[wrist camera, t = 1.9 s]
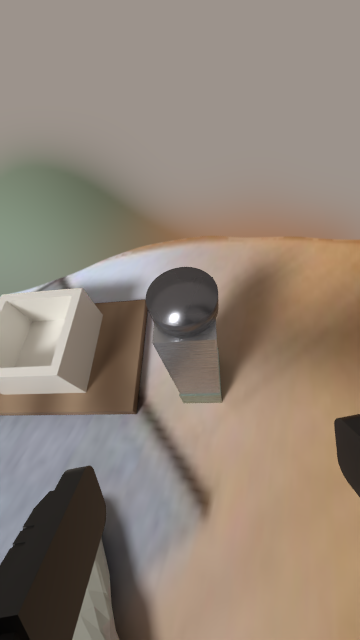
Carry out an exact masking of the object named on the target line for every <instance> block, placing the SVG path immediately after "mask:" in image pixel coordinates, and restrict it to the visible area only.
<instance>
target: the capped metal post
mask: <svg viewBox="0 0 360 640" xmlns="http://www.w3.org/2000/svg"><path fill="white" fill-rule="evenodd" d="M146 305H147V308H148V311H149V313H150V315H151V317H152V319H153V321H154V331H153V342H152V343H153V345H154V347H155V349H156V350H157V352H158V354H159V356H160V358H161V359H162V361H163V363H164V365H165V367H166V369H167V370H168V372H169V374H170V376H171V378H172V380H173V381H174V383H175V385H176V387H177V389H178V391H179V392H180V398H181V399H182V401H183V403H222V399H221V383H220V368H219V353H218V348H217V335H216V317H217V314H218V289H217V285H216V283H215V281H214V279H213V277H211V276H210V275H209V274H207V273H206V272H204V271H202V270H200V269H197V268H192V267H180V268H175V269H171V270H169V271H166V272H164V273H163V274H161V275H160V276H158V277H157V278H156V279H155V280H154V281H153V282H152V283H151V285H150V286H149V288H148V291H147V294H146Z"/></svg>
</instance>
